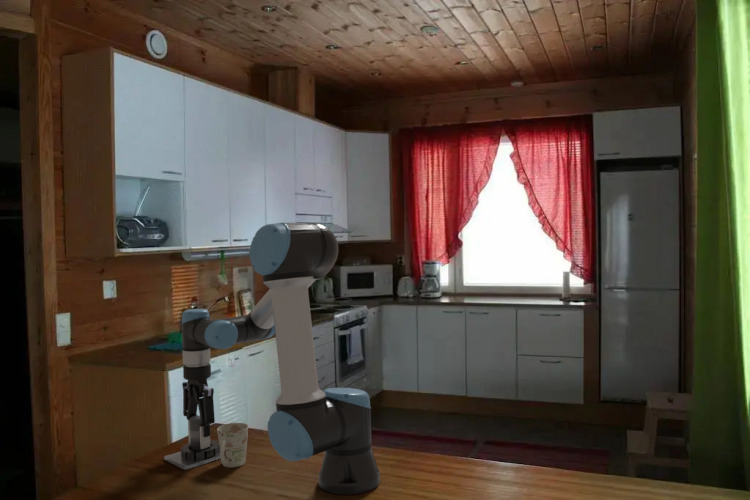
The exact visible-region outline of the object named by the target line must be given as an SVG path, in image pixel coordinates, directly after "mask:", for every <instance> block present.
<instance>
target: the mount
mask: <svg viewBox="0 0 750 500" xmlns="http://www.w3.org/2000/svg"><path fill="white" fill-rule="evenodd" d="M163 458H164V461H166V462H167V463H170V464H172V465H174V466H175V467H178V468H180V469H182V470H184V471H187V470H190V469H193V468H197V467H200V466H203V465H206V464H209V463H213V462H215V460H216V461H218V459H219V460H221V452H220V446H219V441H217V440H213V439H212V440H211V439H210V447H209V448H207V449H204V450H191V447H190V443H189V442H188V443H186V444H184V445H182V446H181V448H180V451H178V452H174V453H171V454H168V455H167V454H166V455H164V456H163ZM212 461H213V462H212Z"/></svg>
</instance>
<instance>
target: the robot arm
mask: <svg viewBox="0 0 750 500" xmlns="http://www.w3.org/2000/svg"><path fill="white" fill-rule="evenodd" d="M338 256H339V243H338V240H337V237H336V235H335V234H334V233H333V231H332V230H331V229H330V228H328V227H327V226H325V225H323V224H321V223H317V222H307V223H306V222H305V223H304V222H276V223H269V224H264V225H263V226H261V227H260V228H259V229H257V231H256V232H255V234H254V236H253V238H252V240H251V243H250V248H249V260H250V265H251V266H252V268H253V270H254V272H255V273H256V274H258V275H260V276H262V283H263V285H265V286H266V287H268V288H269V289H268V290H267V291H266V293H265V294H264V295H263V296H262V297H261V298H260V300H259V301H258V302H257V304H256V305H254V307H253V308H252V309H251V310H250V311H249V312H248V314H245V315H239V316H238V315H237V316H233V317H231V316H230V317H224V318H211V317H210V312H209V309H206V308H193V309H187V310H184V311H183V312H182V313H181V337H182V338H181V342H182V344H181V345H182V364H183V368H182V374H183V377H182V378H183V379H184V380H186V381H183V382H182V384H181V385H182V391H183V393H182V394H183V395H182V396H183V400H182V402H183V403H182V406H183V407H182V409H183V410H182V412H183V413H182V414H183V415H182V416H183V417H186V420H187V425H188V426H187V433H188V443H190V423H189V419H190V418H191V417H194V416H200V419H201V424H200V425H199V426H200V449H204V448H207V447H210V440H211V425H212V424H215V421H216V420H215V418H216V417H215V404H214V393H215V392H214V391H215V390H214V388H213V387H211V388H210V387H209V384H208V379H210V378H211V375H212V368H211V367H212V365H211V363H210V362H211V348H213V349H216V350H227V349H230V348H232V347H233V346H234V345H239V344H243V343H249V342H250V343H251V342H255V341H263V340H266V339H269V338H272V337H273V336H274V335H275V342H276V343H275V344H276V353H277V363H278V372H279V379H280V380H279V381H280V391H281V392H280V394H279V396H278V397H277V398H276V400H275V406H276V407H275V408H276V409H275V410H276V411H274V412H273V413H272V414H271V415H270V416H269V420H268V422H267V435H268V438H269V440H270V443H271V445H272V447H273V449H274V450H275V451H276V452H277V454H278V455H279V456H280V457H282V458H283V459H285V460H287V461H288V462H298V461H301V460H307V459H310V458H311V457H314V456H316V455H318V454H322V453H324V454H323V459H322V464H321V468H320V471H319V472H318V487H319V488H320V489H321V490H323V491H325V492H327V493H330V494H335V495H357V494H361V493H362V494H363V493H366V492H369V491H372V490H373V489H375V488H377V487H378V486H379V485H380V484H381V483H380V482H381V478H380V477H381V476H380V475H381V474H380V469H379V468H378V465H377V461H376V459H375V456H374V452H373V445H372V414H371V413H372V410H371V409H372V406H371V401H370V395H369V394H368V392H366V391H365V390H363V389H359V388H351V387H329V388H326V389H324V390H322V389H320V387H319V378H318V371H317V362H316V351H315V343H314V334H313V333H314V332H313V324H312V313H311V306H310V297H309V296H310V295H309V288H310V287H311V286H312V285H313V284H314V282H316V280H322V279H323V278H324V277H325V276H326V275H327V274H328V273H329V272H330V271H331V270H332V268H333V267H334V266H335V263H336V262H337V260H338ZM197 412H198V413H199V415H198V414H197Z"/></svg>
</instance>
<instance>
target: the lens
mask: <svg viewBox="0 0 750 500" xmlns="http://www.w3.org/2000/svg"><path fill="white" fill-rule="evenodd" d="M189 423H190V447H191V450H204V449H207V448H209V447H207V448H204V449H200V426H199V425H200V424H201V419H200V415H198V416H194V417H191V418H190V419H189Z"/></svg>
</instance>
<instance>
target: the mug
mask: <svg viewBox="0 0 750 500" xmlns="http://www.w3.org/2000/svg"><path fill="white" fill-rule="evenodd" d="M216 433H217V439H218V442H219V446H220V452H221V459H220V462H221V465H222V466H223V467H225V468H237V467H240V466H243V465H245V463H246V457H247V448H248V447H247V446H248V436H249V435H248V434H249V425H248V424H247V423H244V422H231V423H230V422H229V423H226V424H222V425H220V426H218V427H217V428H216Z"/></svg>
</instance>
